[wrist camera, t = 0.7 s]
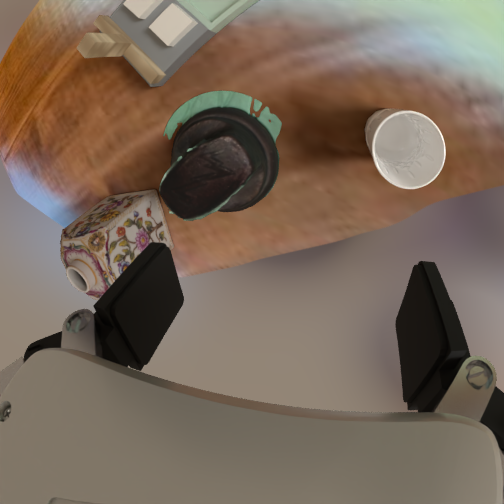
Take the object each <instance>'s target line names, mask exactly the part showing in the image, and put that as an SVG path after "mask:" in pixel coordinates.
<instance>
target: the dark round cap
mask: <svg viewBox="0 0 504 504" xmlns="http://www.w3.org/2000/svg"><path fill="white" fill-rule="evenodd" d="M251 101H252V97H250V96H247V95H244V94H241V93H237V92H232V91H214V92H208V93H204V94H201V95H199V96H196V97H194V98H192V99H191V100H189V101H187V102H186V103H184V104H183V105H182V106H181V107H180V108H179V109H177V111H176V112H175V113H174V114H173V115H172V117H171V118H170V120H169V122H168V124H167V126H166V129H165V132H164V135H163V136H165V133H166V134H167V136H168V139H169V140H170V139H171V137H172V135H173V133H174V132H175V129H176V128H177V127H178V126H177V123H180V122H182V126H181V128H180V129H179V131H178V132H177V134H176V137H175V139H174V143H173V149H172V155H171V156H172V159H171V167H170V168H169V170H167V172H166V173H165V174H164V176H163V178H162V180H161V183H160V187H159V192H160V195H161V197H162V199H163V201H164V202H165V204H166V205H167V207H168V208H169V209H170V210H171V212H170V211H169V213H172V214H176V215H177V216H178V218H183V220H184V221H185V220H186V221H187V220H188V221H193V220H197V219H202V218H204V217H206V216H207V215H209V214H211V213H214V212H216V211H220V212H235V211H241V210H244V209H246V208H249V207H251V206H253V205H255V204H256V203H258V202H259V201H260V200H261V199H263V198H264V197H266V196H267V194H268V193H269V192H270V191H271V189H272V188H273V186H274V184H275V181H276V179H277V175H278V170H279V153H278V150H277V148H276V146H275V141H276V138H277V135H279V133H280V129H281V125H282V123H281V121H280V120H279V119H278V117H277V116H276V115H273V114H270V113H269V108H268V107H265V108H264V110H263V111H262V112H261V114H260V116H259V117H258V118H257V117H255V114H252V116H251V115H250V106H251ZM261 105H262V103H261V102H259V101H258V100H256V99H255V100H254V110H255V111H258V110H259V109H260V107H261ZM269 119H270V120H271V123H270V122H269V121H268V120H269Z"/></svg>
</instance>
